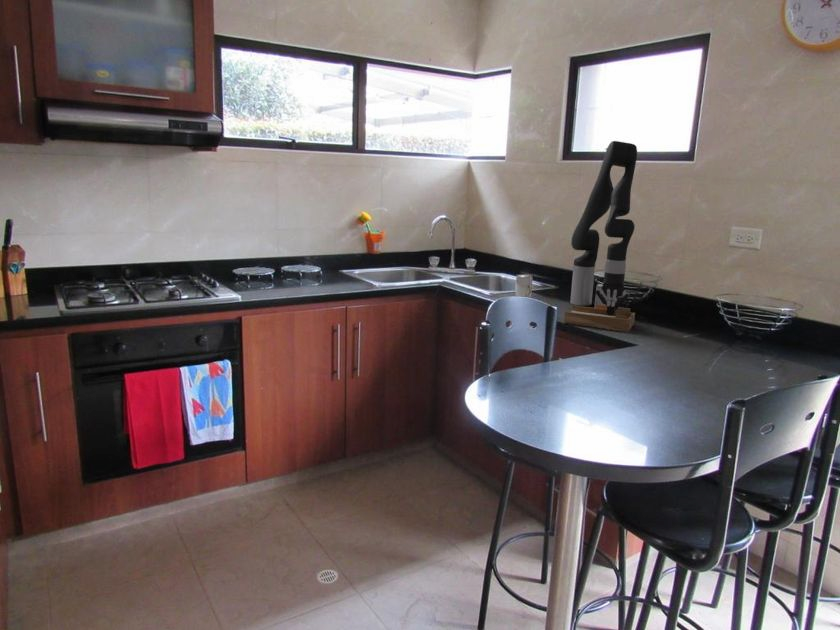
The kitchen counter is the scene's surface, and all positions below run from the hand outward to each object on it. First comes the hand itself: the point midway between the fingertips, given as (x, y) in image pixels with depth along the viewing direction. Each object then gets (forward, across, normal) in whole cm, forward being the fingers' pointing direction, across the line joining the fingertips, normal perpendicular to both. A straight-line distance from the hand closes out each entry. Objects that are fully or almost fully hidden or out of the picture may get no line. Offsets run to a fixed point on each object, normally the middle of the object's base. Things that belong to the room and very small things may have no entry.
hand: (610, 315), depth 239 cm
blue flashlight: (+4, +36, -2) cm, 36 cm away
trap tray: (+3, +3, +3) cm, 5 cm away
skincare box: (+3, +6, -17) cm, 18 cm away
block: (+1, -5, 0) cm, 5 cm away
